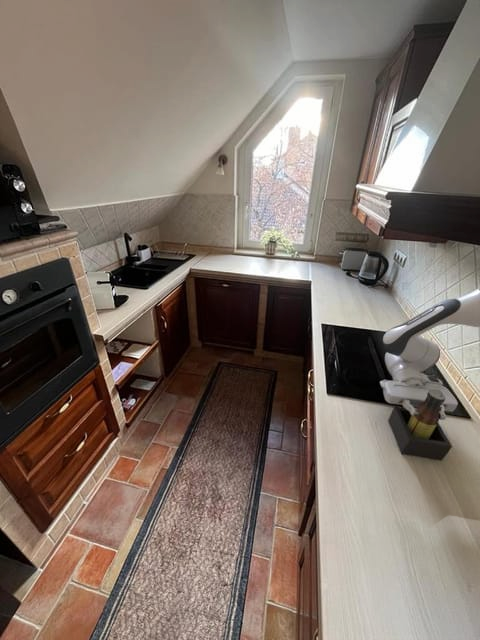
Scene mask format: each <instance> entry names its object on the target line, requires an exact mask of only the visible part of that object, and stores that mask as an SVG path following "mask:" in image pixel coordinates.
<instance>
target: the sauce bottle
mask: <svg viewBox="0 0 480 640" xmlns="http://www.w3.org/2000/svg"><path fill="white" fill-rule="evenodd" d="M444 401H445V396H444V394H443V393H441V392H440V391H437V390H429V392H428V393H427V397H426V399H425V401H424V402H421V403H419V404H418V405H417V407H415V408H417V410H418V411H419V414H418V416H411V418H410V420H409V422H408V424H407V427H408V429H409V431H410V433H411V435H412V437H416V438H423V439H429V438H430V436H431V434H432V432H433V430H434V429H435V427H436V425H437V423H439V420H440V419H439V408H440V406H441V404H442V403H443V402H444Z"/></svg>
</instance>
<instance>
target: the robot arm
mask: <svg viewBox="0 0 480 640" xmlns="http://www.w3.org/2000/svg"><path fill="white" fill-rule="evenodd" d="M442 325H460V326H467V327H472V328H480V286H479V287H477V288H476V289H475V290H473V291H471V292H469V293H466V294H464V295H461V296H459V297H456V298H448V299H445V300H442V301H440V302H438V303H436V304H434V305H433V306H431V307H429V308H427V309H426V310H424V311H422V312H421V313H419V314H417V315H415V316H414V317H412V318H410V319H409V320H407V321H405V322H403V323H401V324H399V325H396V326H394V327H391V328H390V329H388V330H386V331H385V332H384V334H383V336H382V339H381V340H382V346H383V348H384V351H385V355H384V363H385V367H386V369H387V371H388V373H389V375H390V376H391V377H392V379H391V380H390V379H383V380H380V381H379V385H380V387H381V389H382V393H383V397H384V400H385V401H386V403H388V404H392V405H399V406H403V407H402V408H406V409H407V410H408V411H410V413H411V415H412V416H418V414H419V411H418V410H417V408H416V407H417V405H418V404H419V403H421V402H424V401H425V399H426V397H427V393H428V392H429V390H437V391H440V392H441V393H443V394H444V396H445V401H444V402H443V403H442V404H441V406H440V408H439V420H441V421H445V420H446V419H447V414H445V412H449V413H450V412H451V413H452V412H454V411H455V410H456V409H457V407H458V405H459V402H458V400H457V398H456V397H455V396H454V395H453V394H452V392H451V391H450V390H449V389H448V388H447V387H446V386H444V385H443V381H442V380H441V379H439V378H436V377H432V376H430V375H427V374H425V373H423V372H425V371H427V370H429V369H430V368H432V367H433V366H435V365H436V364H437V363H438V362H439V360H440V357H441V349H440V346H439V345H438V344H437V343H435V342H433V341H431V340H429V339H427V338H425V337H422V336H421V335H422V334H425V333H427V332H429V331H431V330H433V329H434V328H436V327H438V326H439V327H440V326H442Z"/></svg>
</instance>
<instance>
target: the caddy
mask: <svg viewBox="0 0 480 640" xmlns="http://www.w3.org/2000/svg"><path fill="white" fill-rule="evenodd" d="M411 416H412V415H411V413H410V411H408V410H407V409H406V408H404V407H401V406H394V407H393V409H392V411H391V413H390V415H389V417H388V419H387V422H388V425H389V426H390V429H391V432H392V434H393V437H394V439H395V442H396V444H397V447H398V449H399V452H400V454H401V455H406V456H412V457H418V458H423V459H430V460H437V461H443V460H444V459H445V457H446V456H447V455H448V453H450V450H451V449H452V447H453V445H452V442H450V439H448V436H447V435H446V433H445V432H444V429H443V428H442V427H441V425H440V423H439V422H438V423H437V425H436V427H435V429H434V430H433V432H432V434H431V436H430V438H429V439H423V438H416V437H412V435H411V433H410V431H409V429H408V427H407V424H408V422H409V420H410V418H411Z"/></svg>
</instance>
